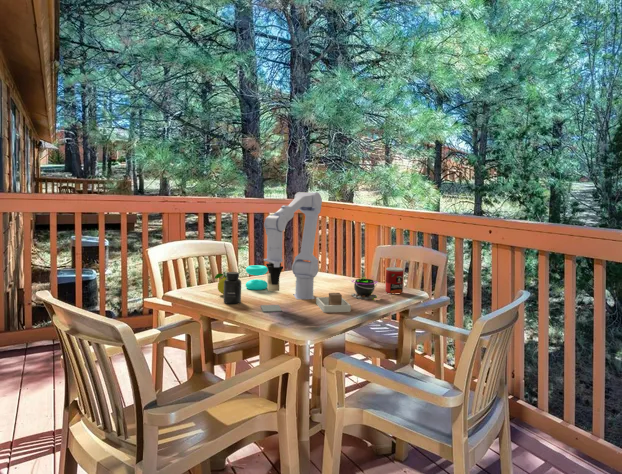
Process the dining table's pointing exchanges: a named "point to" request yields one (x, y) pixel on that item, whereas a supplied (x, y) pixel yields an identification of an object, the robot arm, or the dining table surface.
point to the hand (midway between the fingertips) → (274, 283)
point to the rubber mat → (271, 308)
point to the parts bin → (325, 307)
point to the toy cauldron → (364, 288)
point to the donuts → (256, 283)
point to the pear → (221, 282)
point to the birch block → (269, 284)
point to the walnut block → (335, 299)
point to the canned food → (394, 280)
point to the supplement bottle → (232, 288)
